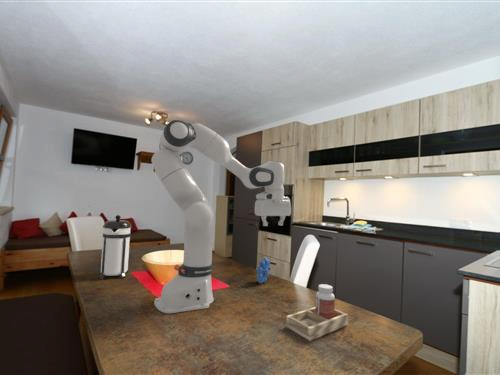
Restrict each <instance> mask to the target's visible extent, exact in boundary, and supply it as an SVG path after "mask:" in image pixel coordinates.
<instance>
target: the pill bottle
mask: <svg viewBox="0 0 500 375" xmlns="http://www.w3.org/2000/svg"><path fill="white" fill-rule="evenodd" d="M317 288H318V291H317V292H316V293H315V307H316V314H318V315H320V316H322V317H325V318H327V319H331V318H334V309H335V303H336V302H335V298H336V297H335V294H334V293H333V291H334V289H333V288H334V287H333V286H332V285H329V284H326V283H325V284H324V283H321V284H318V287H317Z"/></svg>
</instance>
